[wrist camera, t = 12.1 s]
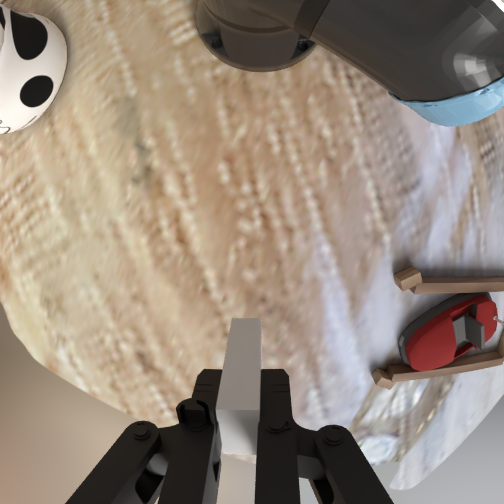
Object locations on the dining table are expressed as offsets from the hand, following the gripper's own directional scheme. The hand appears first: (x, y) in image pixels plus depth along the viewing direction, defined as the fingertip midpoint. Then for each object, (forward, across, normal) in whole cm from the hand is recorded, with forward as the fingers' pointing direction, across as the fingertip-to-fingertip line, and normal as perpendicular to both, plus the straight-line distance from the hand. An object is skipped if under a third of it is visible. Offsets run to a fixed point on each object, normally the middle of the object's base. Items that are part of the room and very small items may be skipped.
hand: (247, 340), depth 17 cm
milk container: (+24, -32, +24) cm, 47 cm away
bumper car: (+24, +30, -15) cm, 41 cm away
